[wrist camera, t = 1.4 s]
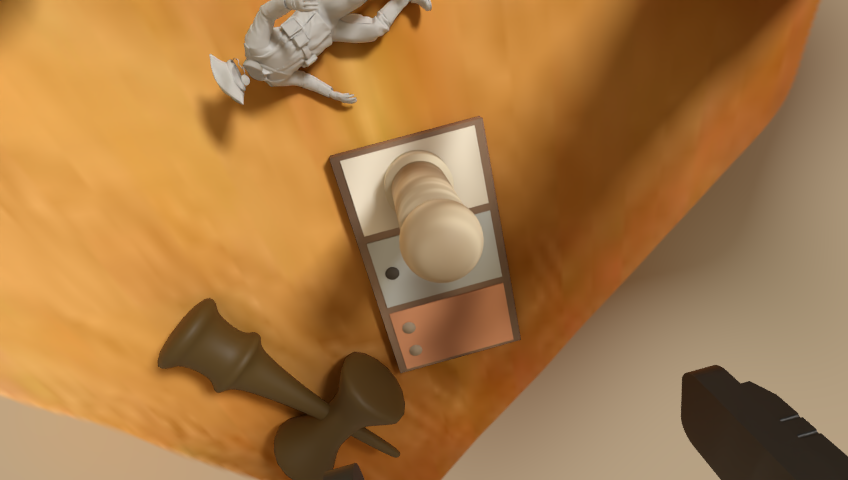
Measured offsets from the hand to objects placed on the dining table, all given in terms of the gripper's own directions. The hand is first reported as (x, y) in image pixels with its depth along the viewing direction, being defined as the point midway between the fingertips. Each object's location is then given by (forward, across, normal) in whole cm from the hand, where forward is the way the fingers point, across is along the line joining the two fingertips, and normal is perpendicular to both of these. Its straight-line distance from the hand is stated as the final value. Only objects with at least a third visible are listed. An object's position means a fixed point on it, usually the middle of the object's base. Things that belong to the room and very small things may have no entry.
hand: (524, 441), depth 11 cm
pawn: (+21, 0, 0) cm, 21 cm away
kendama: (+22, +12, +13) cm, 29 cm away
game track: (+22, 0, +6) cm, 23 cm away
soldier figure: (+22, +3, -10) cm, 25 cm away
